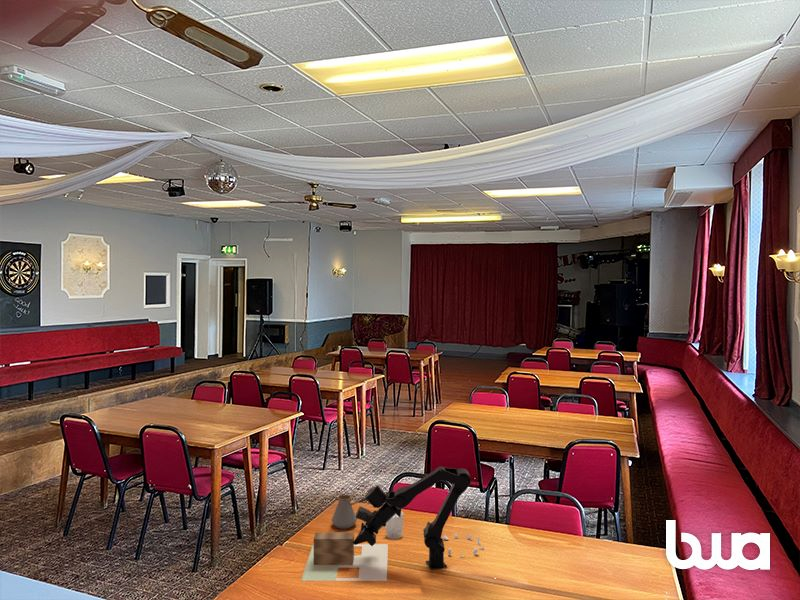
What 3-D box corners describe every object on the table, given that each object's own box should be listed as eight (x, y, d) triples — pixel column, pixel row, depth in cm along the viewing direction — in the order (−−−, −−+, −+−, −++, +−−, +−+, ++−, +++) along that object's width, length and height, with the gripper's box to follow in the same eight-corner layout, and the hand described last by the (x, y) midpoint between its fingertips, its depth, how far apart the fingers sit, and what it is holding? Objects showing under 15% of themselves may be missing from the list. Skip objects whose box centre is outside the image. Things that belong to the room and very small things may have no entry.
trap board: (387, 547, 242) (387, 544, 242) (386, 584, 212) (386, 580, 212) (312, 547, 242) (312, 544, 241) (301, 584, 212) (301, 580, 211)
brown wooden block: (353, 557, 230) (354, 532, 229) (352, 564, 224) (352, 539, 223) (315, 557, 230) (315, 532, 229) (313, 564, 224) (313, 539, 223)
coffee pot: (328, 529, 260) (328, 496, 259) (335, 519, 271) (335, 487, 271) (374, 533, 255) (374, 499, 255) (380, 523, 267) (380, 490, 266)
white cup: (395, 541, 248) (395, 518, 247) (381, 536, 252) (381, 513, 252) (406, 535, 254) (407, 512, 254) (392, 530, 259) (392, 508, 258)
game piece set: (492, 553, 238) (492, 544, 237) (448, 562, 230) (448, 552, 230) (469, 534, 256) (469, 526, 255) (428, 542, 248) (428, 533, 248)
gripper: (369, 492, 235) (341, 519, 236) (367, 510, 217) (337, 539, 217) (388, 512, 236) (361, 538, 236) (388, 531, 217) (358, 560, 217)
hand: (354, 543), depth 226 cm, fingers closed, pressing on brown wooden block
